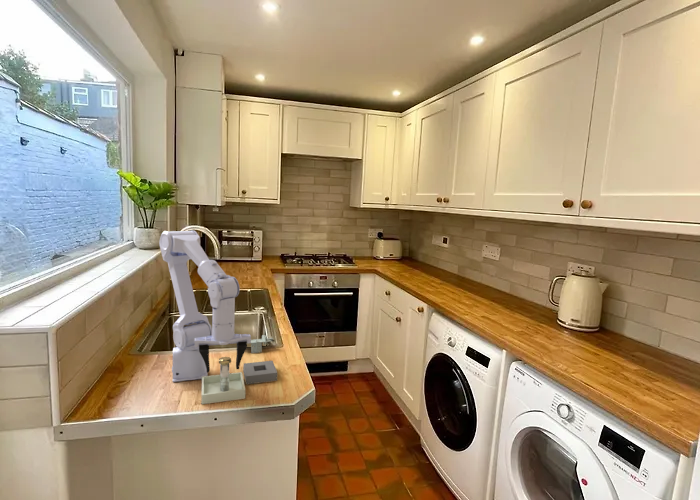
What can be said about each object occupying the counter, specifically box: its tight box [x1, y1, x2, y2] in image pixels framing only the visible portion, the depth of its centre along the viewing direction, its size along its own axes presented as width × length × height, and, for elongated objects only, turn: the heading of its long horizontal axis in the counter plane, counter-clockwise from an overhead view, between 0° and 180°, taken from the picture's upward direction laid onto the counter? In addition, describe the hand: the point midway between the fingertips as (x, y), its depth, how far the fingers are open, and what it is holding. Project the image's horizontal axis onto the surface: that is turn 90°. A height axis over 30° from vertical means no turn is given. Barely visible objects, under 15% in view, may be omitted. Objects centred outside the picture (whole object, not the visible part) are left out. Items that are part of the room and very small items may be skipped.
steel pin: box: [218, 356, 232, 391], centre depth 104 cm, size 3×3×9 cm
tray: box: [200, 371, 246, 405], centre depth 104 cm, size 11×11×2 cm
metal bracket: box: [247, 334, 274, 354], centre depth 138 cm, size 14×6×15 cm
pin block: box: [242, 360, 278, 385], centre depth 114 cm, size 9×9×2 cm
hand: (223, 369), depth 103 cm, fingers open, 7 cm apart
